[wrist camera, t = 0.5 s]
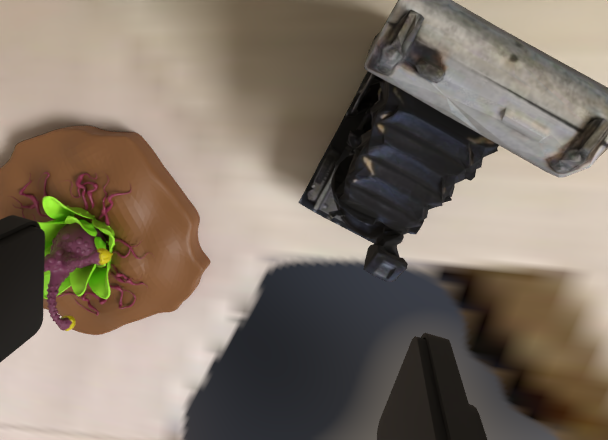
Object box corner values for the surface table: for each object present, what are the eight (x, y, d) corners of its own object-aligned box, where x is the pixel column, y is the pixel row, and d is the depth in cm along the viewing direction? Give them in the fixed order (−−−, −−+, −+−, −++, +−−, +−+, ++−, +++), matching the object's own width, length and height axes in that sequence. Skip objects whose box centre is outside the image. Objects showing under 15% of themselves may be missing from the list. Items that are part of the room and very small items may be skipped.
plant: (140, 90, 37) (50, 99, 27) (235, 284, 42) (191, 357, 32) (-31, 169, 42) (-163, 204, 32) (73, 335, 47) (-11, 412, 37)
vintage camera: (297, 184, 38) (231, 314, 20) (388, 8, 32) (415, -39, 14) (394, 235, 39) (417, 407, 20) (502, 71, 32) (673, 106, 14)
